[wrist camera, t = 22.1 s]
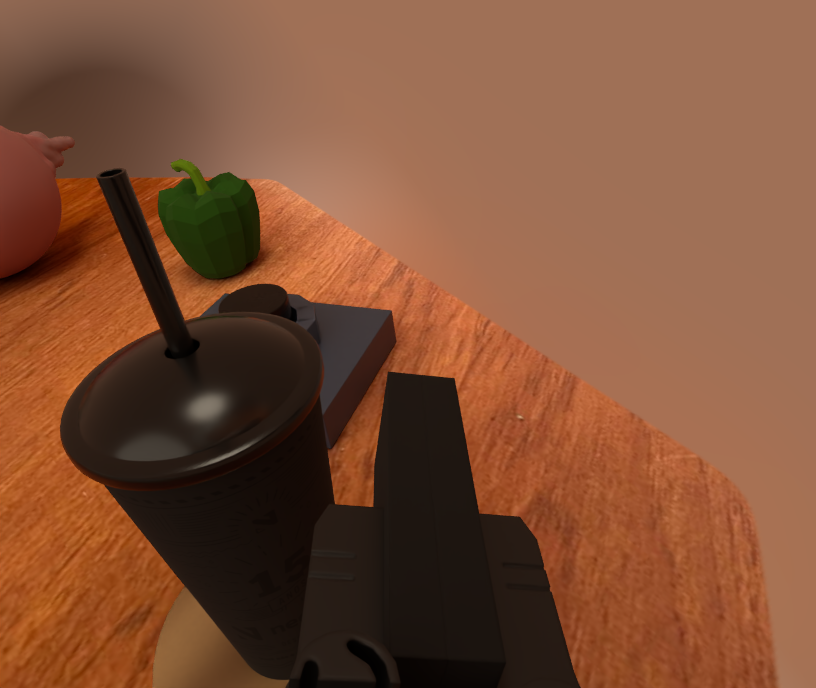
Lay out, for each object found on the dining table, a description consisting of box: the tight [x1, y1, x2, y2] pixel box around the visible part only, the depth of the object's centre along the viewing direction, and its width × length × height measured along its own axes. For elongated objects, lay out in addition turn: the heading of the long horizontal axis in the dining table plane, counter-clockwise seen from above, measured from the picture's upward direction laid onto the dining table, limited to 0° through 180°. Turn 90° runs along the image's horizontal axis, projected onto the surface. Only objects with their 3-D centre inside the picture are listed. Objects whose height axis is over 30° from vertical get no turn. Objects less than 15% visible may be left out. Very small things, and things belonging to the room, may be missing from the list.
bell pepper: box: [158, 159, 260, 279], centre depth 53 cm, size 8×8×10 cm
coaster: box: [153, 587, 289, 688], centre depth 26 cm, size 12×12×1 cm
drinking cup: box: [60, 168, 335, 680], centre depth 20 cm, size 8×8×20 cm
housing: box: [200, 293, 396, 449], centre depth 40 cm, size 14×11×4 cm
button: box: [218, 284, 294, 322], centre depth 38 cm, size 4×4×2 cm
